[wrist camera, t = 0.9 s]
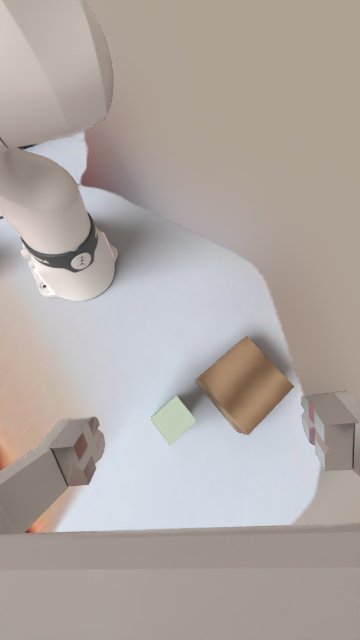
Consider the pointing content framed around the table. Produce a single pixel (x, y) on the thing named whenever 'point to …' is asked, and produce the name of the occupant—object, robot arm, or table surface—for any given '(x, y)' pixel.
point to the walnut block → (244, 386)
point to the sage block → (172, 420)
